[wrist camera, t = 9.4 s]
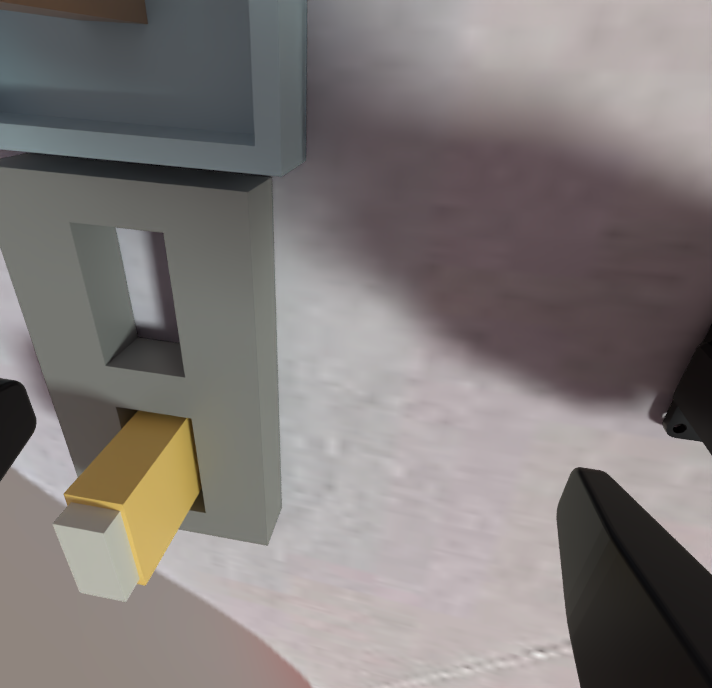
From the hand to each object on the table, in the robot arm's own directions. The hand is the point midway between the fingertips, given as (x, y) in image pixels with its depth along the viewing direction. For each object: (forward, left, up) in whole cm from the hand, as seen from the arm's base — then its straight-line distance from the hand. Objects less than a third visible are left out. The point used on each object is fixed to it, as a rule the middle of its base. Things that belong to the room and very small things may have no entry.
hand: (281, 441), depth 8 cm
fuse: (+9, +12, -12) cm, 19 cm away
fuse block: (+9, +8, -12) cm, 17 cm away
